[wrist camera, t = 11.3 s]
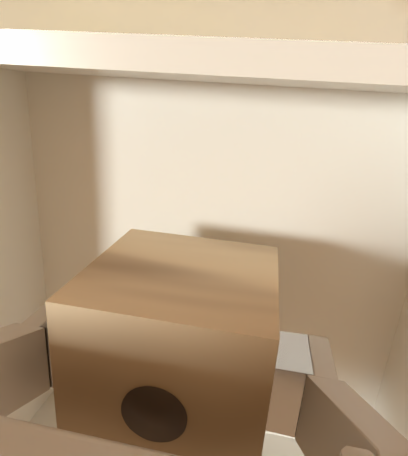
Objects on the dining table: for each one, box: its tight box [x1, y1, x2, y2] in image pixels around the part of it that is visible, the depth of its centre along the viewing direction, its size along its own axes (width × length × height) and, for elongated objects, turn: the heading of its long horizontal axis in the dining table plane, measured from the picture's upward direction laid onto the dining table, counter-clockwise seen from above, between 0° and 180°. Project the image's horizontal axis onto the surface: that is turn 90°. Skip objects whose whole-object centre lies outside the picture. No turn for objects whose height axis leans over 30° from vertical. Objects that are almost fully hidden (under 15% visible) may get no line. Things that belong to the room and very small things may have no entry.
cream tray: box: [0, 29, 408, 456], centre depth 12 cm, size 15×15×4 cm
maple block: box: [45, 229, 280, 456], centre depth 9 cm, size 4×4×4 cm
